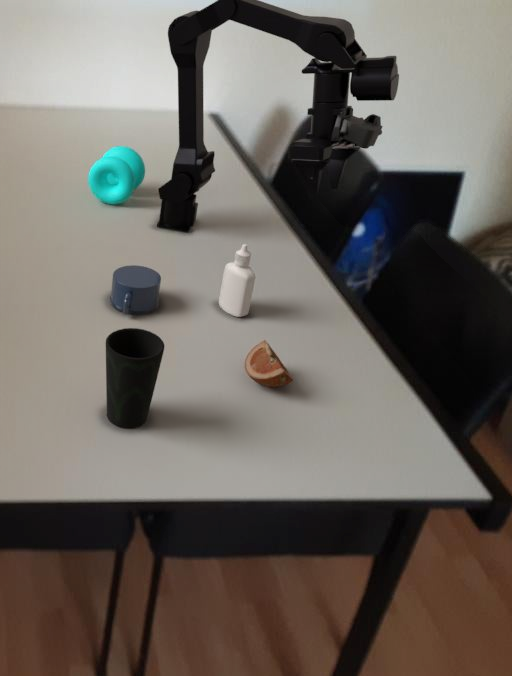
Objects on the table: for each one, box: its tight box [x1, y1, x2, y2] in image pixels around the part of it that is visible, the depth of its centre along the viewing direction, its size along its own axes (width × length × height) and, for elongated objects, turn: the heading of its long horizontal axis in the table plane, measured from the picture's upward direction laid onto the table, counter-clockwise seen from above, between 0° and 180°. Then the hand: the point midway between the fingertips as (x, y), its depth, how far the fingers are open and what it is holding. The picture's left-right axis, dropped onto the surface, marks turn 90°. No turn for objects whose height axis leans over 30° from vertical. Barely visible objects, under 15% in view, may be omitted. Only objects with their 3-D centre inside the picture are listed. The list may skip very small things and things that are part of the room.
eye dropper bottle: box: [218, 243, 256, 318], centre depth 139 cm, size 4×6×12 cm
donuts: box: [88, 145, 146, 205], centre depth 178 cm, size 10×10×10 cm
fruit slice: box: [244, 339, 294, 388], centre depth 124 cm, size 8×7×5 cm
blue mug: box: [109, 264, 162, 316], centre depth 142 cm, size 10×8×5 cm
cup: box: [105, 327, 165, 430], centre depth 114 cm, size 8×8×12 cm
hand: (324, 193), depth 150 cm, fingers open, 9 cm apart
